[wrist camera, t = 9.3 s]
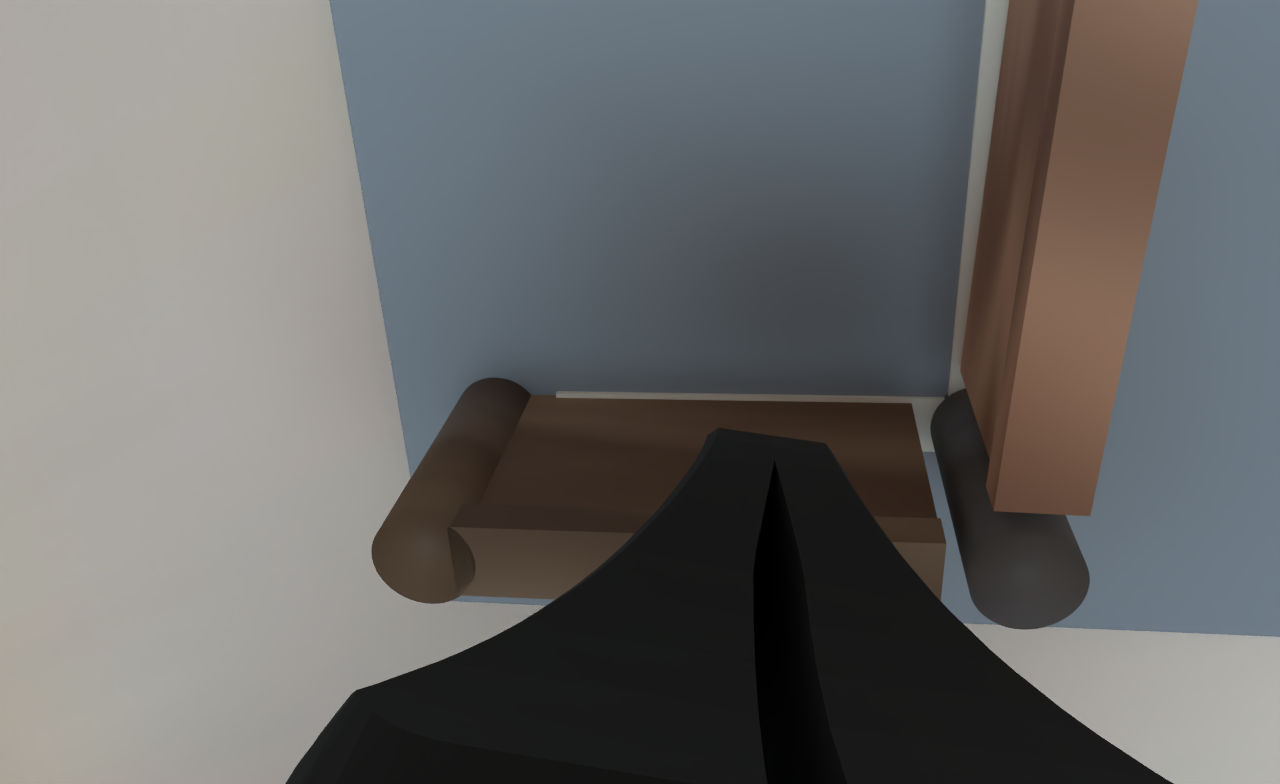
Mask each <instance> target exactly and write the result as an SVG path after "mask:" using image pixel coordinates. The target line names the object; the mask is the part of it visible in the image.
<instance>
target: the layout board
mask: <svg viewBox="0 0 1280 784" xmlns="http://www.w3.org/2000/svg"><path fill="white" fill-rule="evenodd" d="M329 1H330V7H331V13H332V18H333V24H334V30H335V36H336V42H337V48H338V54H339V59H340V65H341V71H342V77H343V83H344V89H345V95H346V100H347V106H348V112H349V118H350V124H351V130H352V136H353V142H354V147H355V153H356V159H357V165H358V171H359V177H360V183H361V188H362V194H363V200H364V206H365V212H366V218H367V224H368V229H369V235H370V241H371V247H372V253H373V259H374V265H375V270H376V276H377V282H378V288H379V294H380V300H381V306H382V311H383V317H384V323H385V329H386V335H387V341H388V347H389V352H390V358H391V364H392V370H393V376H394V382H395V388H396V394H397V399H398V405H399V411H400V417H401V423H402V429H403V435H404V440H405V446H406V452H407V458H408V464H409V470H410V476H411V477H412V475H413V474H414V472H415V471H416V469H417V467H418V466H419V464H420V462H421V461H422V459H423V457H424V456H425V454H426V453H427V451H428V449H429V448H430V446H431V444H432V443H433V441H434V439H435V438H436V436H437V435H438V433H439V431H440V430H441V428H442V426H443V425H444V423H445V422H446V420H447V418H448V417H449V415H450V413H451V412H452V410H453V408H454V407H455V405H456V404H457V402H458V400H459V399H460V397H461V395H462V394H463V392H464V391H465V390H466V388H468V387H469V386H470V385H471V384H473V383H474V382H476V381H478V380H481V379H485V378H494V377H495V378H503V379H507V380H511V381H513V382H515V383H517V384H519V385H521V386H522V387H523V388H525V389H526V390H527V391H528V392H529V393H530V394H531V395H556V398H609V399H672V400H735V401H799V402H862V403H912V407H913V412H914V416H915V421H916V425H917V430H918V434H919V439H920V443H921V447H922V452H923V456H924V461H925V465H926V470H927V474H928V479H929V483H930V487H931V492H932V496H933V501H934V505H935V510H936V514H937V518H941V521H942V526H943V530H944V534H945V539H946V543H947V545H946V554H945V564H944V574H943V584H942V594H941V602H942V603H943V604H944V605H945V606H946V607H947V608H948V609H949V610H950V611H951V612H952V613H953V614H954V615H955V616H956V617H957V618H958V619H959V620H960V621H961V622H962V623H974V624H997V623H995V622H993V621H991V620H989V619H988V618H986V617H985V616H984V615H983V614H982V613H981V612H980V611H979V610H978V609H977V608H976V606H975V605H974V603H973V601H972V599H971V596H970V593H969V588H968V584H967V580H966V576H965V572H964V568H963V564H962V560H961V556H960V552H959V548H958V544H957V540H956V536H955V532H954V527H953V523H952V519H951V515H950V511H949V507H948V503H947V499H946V495H945V491H944V487H943V483H942V479H941V475H940V471H939V466H938V462H937V458H936V454H935V450H934V446H933V442H932V438H931V432H930V425H931V420H932V417H933V414H934V412H935V410H936V409H937V407H938V406H939V405H940V403H941V402H942V401H943V400H945V398H944V397H945V396H946V395H947V394H948V396H950V395H951V394H953V393H955V392H957V391H959V390H962V389H965V388H966V387H965V384H964V381H963V378H962V375H961V372H960V369H961V362H962V354H963V346H964V339H965V331H966V324H967V316H968V309H969V301H970V294H971V286H972V278H973V271H974V263H975V256H976V248H977V241H978V233H979V226H980V218H981V211H982V203H983V195H984V188H985V180H986V173H987V165H988V158H989V150H990V143H991V135H992V127H993V120H994V112H995V105H996V97H997V90H998V82H999V75H1000V67H1001V60H1002V52H1003V44H1004V37H1005V29H1006V22H1007V14H1008V7H1009V0H329ZM1066 517H1067V519H1068V522H1069V524H1070V526H1071V529H1072V531H1073V534H1074V536H1075V538H1076V541H1077V543H1078V545H1079V548H1080V550H1081V552H1082V555H1083V557H1084V560H1085V562H1086V564H1087V567H1088V570H1089V575H1090V584H1089V589H1088V592H1087V595H1086V597H1085V599H1084V600H1083V602H1082V604H1081V605H1080V606H1079V607H1078V608H1077V609H1076V610H1075V611H1074V612H1073V613H1072V614H1071V615H1069V616H1068V617H1066V618H1065V619H1063V620H1061V621H1060V622H1057V623H1055V624H1053V625H1049V626H1046V627H1066V628H1090V629H1113V630H1136V631H1159V632H1182V633H1206V634H1229V635H1252V636H1275V637H1280V0H1198V5H1197V9H1196V14H1195V19H1194V24H1193V29H1192V33H1191V38H1190V43H1189V48H1188V52H1187V57H1186V62H1185V67H1184V71H1183V76H1182V81H1181V86H1180V91H1179V95H1178V100H1177V105H1176V110H1175V114H1174V119H1173V124H1172V129H1171V134H1170V138H1169V143H1168V148H1167V153H1166V157H1165V162H1164V167H1163V172H1162V176H1161V181H1160V186H1159V191H1158V196H1157V200H1156V205H1155V210H1154V215H1153V219H1152V224H1151V229H1150V234H1149V238H1148V243H1147V248H1146V253H1145V258H1144V262H1143V267H1142V272H1141V277H1140V281H1139V286H1138V291H1137V296H1136V300H1135V305H1134V310H1133V315H1132V320H1131V324H1130V329H1129V334H1128V339H1127V343H1126V348H1125V353H1124V358H1123V362H1122V367H1121V372H1120V377H1119V382H1118V386H1117V391H1116V396H1115V401H1114V405H1113V410H1112V415H1111V420H1110V425H1109V429H1108V434H1107V439H1106V444H1105V448H1104V453H1103V458H1102V463H1101V467H1100V472H1099V477H1098V482H1097V487H1096V491H1095V496H1094V501H1093V506H1092V510H1091V515H1090V516H1077V515H1066ZM554 600H555V599H531V598H508V597H484V596H460V597H458V598H456V599H454V600H451V601H464V602H487V603H510V604H533V605H548V604H549V603H551V602H552V601H554ZM997 625H999V624H997Z"/></svg>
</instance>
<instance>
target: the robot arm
mask: <svg viewBox="0 0 1280 784" xmlns="http://www.w3.org/2000/svg"><path fill="white" fill-rule="evenodd" d="M286 784H1173V783H1172V782H1170V781H1168V780H1166V779H1165V778H1163V777H1162V776H1160V775H1158V774H1157V773H1155V772H1153V771H1152V770H1150V769H1149V768H1147V767H1146V766H1144V765H1143V764H1141V763H1140V762H1138V761H1137V760H1135V759H1134V758H1132V757H1131V756H1129V755H1128V754H1126V753H1125V752H1123V751H1122V750H1120V749H1119V748H1117V747H1116V746H1114V745H1113V744H1111V743H1110V742H1108V741H1107V740H1105V739H1103V738H1102V737H1100V736H1099V735H1097V734H1096V733H1095V732H1093V731H1092V730H1091V729H1089V728H1088V727H1086V726H1085V725H1084V724H1082V723H1081V722H1079V721H1078V720H1077V719H1075V718H1074V717H1072V716H1071V715H1070V714H1068V713H1067V712H1066V711H1064V710H1063V709H1062V708H1060V707H1059V706H1058V705H1056V704H1055V703H1054V702H1053V701H1051V700H1050V699H1049V698H1048V697H1046V696H1045V695H1044V694H1043V693H1041V692H1040V691H1039V690H1038V689H1036V688H1035V687H1034V686H1033V685H1031V684H1030V683H1029V682H1028V681H1026V680H1025V679H1024V678H1023V677H1021V676H1020V675H1019V674H1018V673H1016V672H1015V671H1014V670H1013V669H1012V668H1010V667H1009V666H1008V665H1007V664H1006V663H1005V662H1004V661H1002V660H1001V659H1000V658H999V657H998V656H997V655H995V654H994V653H993V652H992V651H991V650H990V649H989V648H988V647H987V646H986V645H985V644H984V643H983V642H982V641H980V640H979V639H978V638H977V637H976V636H975V635H974V634H973V633H972V632H971V631H970V630H969V629H968V628H967V627H966V626H965V625H964V624H963V623H962V622H961V621H960V620H959V619H958V618H957V617H956V616H955V615H954V614H953V613H952V612H951V611H950V610H949V609H948V608H947V607H946V606H945V605H944V604H943V603H942V602H941V601H940V600H939V599H938V598H937V597H936V596H935V594H934V593H933V592H932V591H931V590H930V589H929V588H928V586H927V585H926V584H925V583H924V582H923V581H922V579H921V578H920V577H919V576H918V575H917V573H916V572H915V571H914V570H913V569H912V568H911V566H910V565H909V564H908V563H907V562H906V561H905V559H904V558H903V557H902V555H901V554H900V553H899V552H898V550H897V549H896V547H895V546H894V545H893V543H892V542H891V541H890V539H889V538H888V536H887V535H886V534H885V532H884V531H883V530H882V528H881V527H880V525H879V524H878V523H877V521H876V520H875V518H874V517H873V515H872V514H871V513H870V511H869V510H868V508H867V507H866V505H865V504H864V502H863V501H862V499H861V497H860V496H859V494H858V493H857V491H856V490H855V488H854V487H853V485H852V483H851V482H850V480H849V479H848V477H847V475H846V474H845V472H844V470H843V469H842V467H841V465H840V464H839V462H838V461H837V459H836V457H835V456H834V454H833V453H832V451H831V450H830V448H829V447H828V446H827V444H826V443H821V442H814V441H807V440H800V439H793V438H786V437H779V436H772V435H766V434H759V433H752V432H745V431H738V430H731V429H724V428H717V429H716V430H714V431H713V432H711V433H710V434H708V435H707V438H706V441H705V443H704V445H703V447H702V449H701V451H700V453H699V455H698V457H697V458H696V460H695V461H694V463H693V464H692V466H691V467H690V469H689V470H688V472H687V473H686V475H685V476H684V477H683V479H682V480H681V481H680V483H679V484H678V485H677V486H676V488H675V489H674V490H673V491H672V493H671V494H670V495H669V496H668V498H667V499H666V500H665V501H664V503H663V504H662V505H661V506H660V507H659V509H658V510H657V511H656V512H655V513H654V514H653V515H652V516H651V517H650V518H649V519H648V520H647V521H646V522H645V523H644V524H643V525H642V527H641V528H640V529H639V530H638V531H637V532H636V533H635V534H634V535H633V536H632V537H631V538H630V539H629V540H628V541H627V542H626V543H625V544H624V545H623V546H622V547H621V548H620V549H619V550H617V551H616V552H615V553H614V554H613V555H612V556H611V557H610V558H609V559H607V560H606V561H605V562H604V563H603V564H602V565H600V566H599V567H598V568H597V569H596V570H594V571H593V572H592V573H591V574H589V575H588V576H587V577H586V578H584V579H583V580H582V581H581V582H579V583H578V584H577V585H575V586H574V587H573V588H571V589H570V590H568V591H567V592H565V593H564V594H563V595H561V596H560V597H558V598H557V599H555V600H554V601H552V602H551V603H549V604H548V605H546V606H545V607H544V608H542V609H541V610H539V611H538V612H536V613H534V614H533V615H531V616H530V617H528V618H526V619H525V620H523V621H522V622H520V623H518V624H516V625H515V626H513V627H511V628H509V629H507V630H505V631H503V632H502V633H500V634H498V635H496V636H494V637H492V638H490V639H488V640H486V641H484V642H481V643H479V644H477V645H475V646H473V647H471V648H469V649H466V650H464V651H462V652H460V653H458V654H455V655H453V656H450V657H448V658H446V659H443V660H441V661H439V662H436V663H433V664H430V665H428V666H425V667H422V668H419V669H417V670H414V671H411V672H408V673H405V674H403V675H400V676H397V677H394V678H392V679H389V680H386V681H383V682H381V683H378V684H375V685H372V686H368V687H365V688H362V689H359V690H356V691H355V692H353V693H352V694H351V695H350V697H349V698H348V699H347V700H346V702H345V703H344V704H343V705H342V707H341V708H340V709H339V710H338V712H337V713H336V714H335V716H334V717H333V718H332V719H331V721H330V722H329V723H328V725H327V726H326V727H325V728H324V730H323V731H322V732H321V734H320V735H319V736H318V738H317V739H316V741H315V742H314V744H313V745H312V746H311V748H310V749H309V750H308V751H307V753H306V754H305V755H304V757H303V758H302V759H301V761H300V762H299V763H298V765H297V766H296V768H295V769H294V771H293V773H292V774H291V776H290V777H289V779H288V781H287V782H286Z"/></svg>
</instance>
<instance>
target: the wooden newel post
mask: <svg viewBox="0 0 1280 784" xmlns="http://www.w3.org/2000/svg"><path fill="white" fill-rule="evenodd" d="M1197 5H1198V0H1009V7H1008V14H1007V22H1006V29H1005V37H1004V44H1003V52H1002V60H1001V67H1000V75H999V82H998V90H997V97H996V105H995V112H994V120H993V127H992V135H991V143H990V150H989V158H988V165H987V173H986V180H985V188H984V195H983V203H982V211H981V218H980V226H979V233H978V241H977V248H976V256H975V263H974V271H973V278H972V286H971V294H970V301H969V309H968V316H967V324H966V331H965V339H964V346H963V354H962V362H961V369H960V372H961V375H962V378H963V381H964V384H965V387H966V390H967V393H968V396H969V399H970V402H971V405H972V408H973V411H974V414H975V417H976V420H977V423H978V426H979V429H980V432H981V435H982V438H983V441H984V444H985V447H986V450H987V453H988V456H989V459H990V462H989V469H988V475H987V482H986V489H987V492H988V495H989V498H990V502H991V505H992V508H993V511H1000V512H1019V513H1038V514H1057V515H1077V516H1090V515H1091V510H1092V506H1093V501H1094V496H1095V491H1096V487H1097V482H1098V477H1099V472H1100V467H1101V463H1102V458H1103V453H1104V448H1105V444H1106V439H1107V434H1108V429H1109V425H1110V420H1111V415H1112V410H1113V405H1114V401H1115V396H1116V391H1117V386H1118V382H1119V377H1120V372H1121V367H1122V362H1123V358H1124V353H1125V348H1126V343H1127V339H1128V334H1129V329H1130V324H1131V320H1132V315H1133V310H1134V305H1135V300H1136V296H1137V291H1138V286H1139V281H1140V277H1141V272H1142V267H1143V262H1144V258H1145V253H1146V248H1147V243H1148V238H1149V234H1150V229H1151V224H1152V219H1153V215H1154V210H1155V205H1156V200H1157V196H1158V191H1159V186H1160V181H1161V176H1162V172H1163V167H1164V162H1165V157H1166V153H1167V148H1168V143H1169V138H1170V134H1171V129H1172V124H1173V119H1174V114H1175V110H1176V105H1177V100H1178V95H1179V91H1180V86H1181V81H1182V76H1183V71H1184V67H1185V62H1186V57H1187V52H1188V48H1189V43H1190V38H1191V33H1192V29H1193V24H1194V19H1195V14H1196V9H1197Z"/></svg>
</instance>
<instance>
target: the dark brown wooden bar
mask: <svg viewBox="0 0 1280 784" xmlns="http://www.w3.org/2000/svg"><path fill="white" fill-rule="evenodd" d="M944 398H945V400H943V401H942V402H941V403H940V405H939V406H938V407H937V409H936V410H935V412H934V414H933V417H932V420H931V425H930V432H931V438H932V442H933V446H934V450H935V454H936V458H937V462H938V466H939V471H940V475H941V479H942V483H943V487H944V491H945V495H946V499H947V503H948V507H949V511H950V515H951V519H952V523H953V527H954V532H955V536H956V540H957V544H958V548H959V552H960V556H961V560H962V564H963V568H964V572H965V576H966V580H967V584H968V588H969V593H970V596H971V599H972V601H973V603H974V605H975V606H976V608H977V609H978V610H979V611H980V612H981V613H982V614H983V615H984V616H985V617H986V618H988V619H989V620H991V621H993V622H995V623H997V624H999V625H1002V626H1005V627H1009V628H1014V629H1037V628H1042V627H1046V626H1049V625H1053V624H1055V623H1057V622H1060V621H1061V620H1063V619H1065V618H1066V617H1068V616H1069V615H1071V614H1072V613H1073V612H1074V611H1075V610H1076V609H1077V608H1078V607H1079V606H1080V605H1081V604H1082V602H1083V600H1084V599H1085V597H1086V595H1087V592H1088V589H1089V584H1090V575H1089V570H1088V567H1087V564H1086V562H1085V560H1084V557H1083V555H1082V552H1081V550H1080V548H1079V545H1078V543H1077V541H1076V538H1075V536H1074V534H1073V531H1072V529H1071V526H1070V524H1069V522H1068V519H1067V517H1066V515H1057V514H1038V513H1019V512H1000V511H993V508H992V505H991V502H990V498H989V495H988V492H987V489H986V482H987V475H988V469H989V462H990V459H989V456H988V453H987V450H986V447H985V444H984V441H983V438H982V435H981V432H980V429H979V426H978V423H977V420H976V417H975V414H974V411H973V408H972V405H971V402H970V399H969V396H968V393H967V390H966V388H965V389H962V390H959V391H957V392H955V393H953V394H951V395H950V396H948V394H947V395H946V396H945V397H944ZM717 428H724V429H731V430H738V431H745V432H752V433H759V434H766V435H772V436H779V437H786V438H793V439H800V440H807V441H814V442H821V443H826V444H827V446H828V447H829V448H830V450H831V451H832V453H833V454H834V456H835V457H836V459H837V461H838V462H839V464H840V465H841V467H842V469H843V470H844V472H845V474H846V475H847V477H848V479H849V480H850V482H851V483H852V485H853V487H854V488H855V490H856V491H857V493H858V494H859V496H860V497H861V499H862V501H863V502H864V504H865V505H866V507H867V508H868V510H869V511H870V513H871V514H872V515H873V517H874V518H875V520H876V521H877V523H878V524H879V525H880V527H881V528H882V530H883V531H884V532H885V534H886V535H887V536H888V538H889V539H890V541H891V542H892V543H893V545H894V546H895V547H896V549H897V550H898V552H899V553H900V554H901V555H902V557H903V558H904V559H905V561H906V562H907V563H908V564H909V565H910V566H911V568H912V569H913V570H914V571H915V572H916V573H917V575H918V576H919V577H920V578H921V579H922V581H923V582H924V583H925V584H926V585H927V586H928V588H929V589H930V590H931V591H932V592H933V593H934V594H935V596H936V597H937V598H938V599H939V600H940V601H941V594H942V584H943V574H944V564H945V554H946V545H947V543H946V539H945V534H944V530H943V526H942V521H941V518H937V514H936V510H935V505H934V501H933V496H932V492H931V487H930V483H929V479H928V474H927V470H926V465H925V461H924V456H923V452H922V447H921V443H920V439H919V434H918V430H917V425H916V421H915V416H914V412H913V407H912V403H862V402H799V401H735V400H672V399H609V398H556V395H531V394H530V393H529V392H528V391H527V390H526V389H525V388H523V387H522V386H521V385H519V384H517V383H515V382H513V381H511V380H507V379H503V378H495V377H494V378H485V379H481V380H478V381H476V382H474V383H473V384H471V385H470V386H469V387H468V388H466V390H465V391H464V392H463V394H462V395H461V397H460V399H459V400H458V402H457V404H456V405H455V407H454V408H453V410H452V412H451V413H450V415H449V417H448V418H447V420H446V422H445V423H444V425H443V426H442V428H441V430H440V431H439V433H438V435H437V436H436V438H435V439H434V441H433V443H432V444H431V446H430V448H429V449H428V451H427V453H426V454H425V456H424V457H423V459H422V461H421V462H420V464H419V466H418V467H417V469H416V471H415V472H414V474H413V475H412V477H411V479H410V480H409V482H408V484H407V485H406V487H405V488H404V490H403V492H402V493H401V495H400V497H399V498H398V500H397V502H396V503H395V505H394V506H393V508H392V510H391V511H390V513H389V515H388V516H387V518H386V519H385V521H384V523H383V524H382V526H381V528H380V529H379V531H378V533H377V534H376V536H375V538H374V541H373V544H372V559H373V563H374V566H375V568H376V570H377V572H378V574H379V575H380V577H381V578H382V579H383V581H384V582H385V583H386V584H387V585H388V586H389V587H390V588H392V589H393V590H394V591H396V592H397V593H399V594H400V595H402V596H404V597H406V598H409V599H411V600H414V601H417V602H422V603H431V604H432V603H444V602H448V601H451V600H454V599H456V598H458V597H460V596H484V597H508V598H531V599H557V598H558V597H560V596H561V595H563V594H564V593H565V592H567V591H568V590H570V589H571V588H573V587H574V586H575V585H577V584H578V583H579V582H581V581H582V580H583V579H584V578H586V577H587V576H588V575H589V574H591V573H592V572H593V571H594V570H596V569H597V568H598V567H599V566H600V565H602V564H603V563H604V562H605V561H606V560H607V559H609V558H610V557H611V556H612V555H613V554H614V553H615V552H616V551H617V550H619V549H620V548H621V547H622V546H623V545H624V544H625V543H626V542H627V541H628V540H629V539H630V538H631V537H632V536H633V535H634V534H635V533H636V532H637V531H638V530H639V529H640V528H641V527H642V525H643V524H644V523H645V522H646V521H647V520H648V519H649V518H650V517H651V516H652V515H653V514H654V513H655V512H656V511H657V510H658V509H659V507H660V506H661V505H662V504H663V503H664V501H665V500H666V499H667V498H668V496H669V495H670V494H671V493H672V491H673V490H674V489H675V488H676V486H677V485H678V484H679V483H680V481H681V480H682V479H683V477H684V476H685V475H686V473H687V472H688V470H689V469H690V467H691V466H692V464H693V463H694V461H695V460H696V458H697V457H698V455H699V453H700V451H701V449H702V447H703V445H704V443H705V441H706V438H707V435H708V434H710V433H711V432H713V431H714V430H716V429H717Z"/></svg>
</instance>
